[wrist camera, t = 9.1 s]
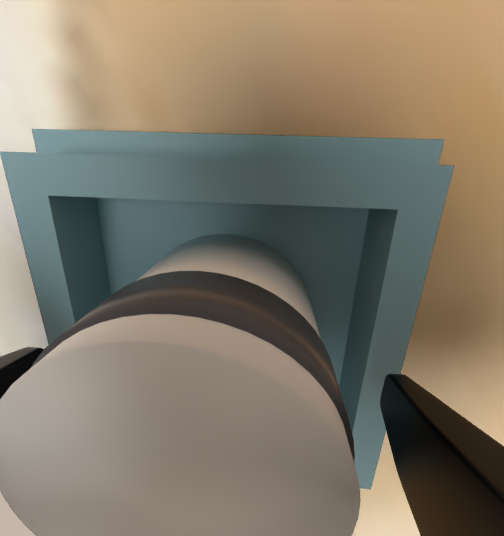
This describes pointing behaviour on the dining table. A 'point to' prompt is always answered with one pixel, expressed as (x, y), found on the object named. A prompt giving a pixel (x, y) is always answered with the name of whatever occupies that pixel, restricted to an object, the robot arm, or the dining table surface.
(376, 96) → the dining table surface
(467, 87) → the dining table surface
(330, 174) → the square tray
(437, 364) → the dining table surface
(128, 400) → the lens
